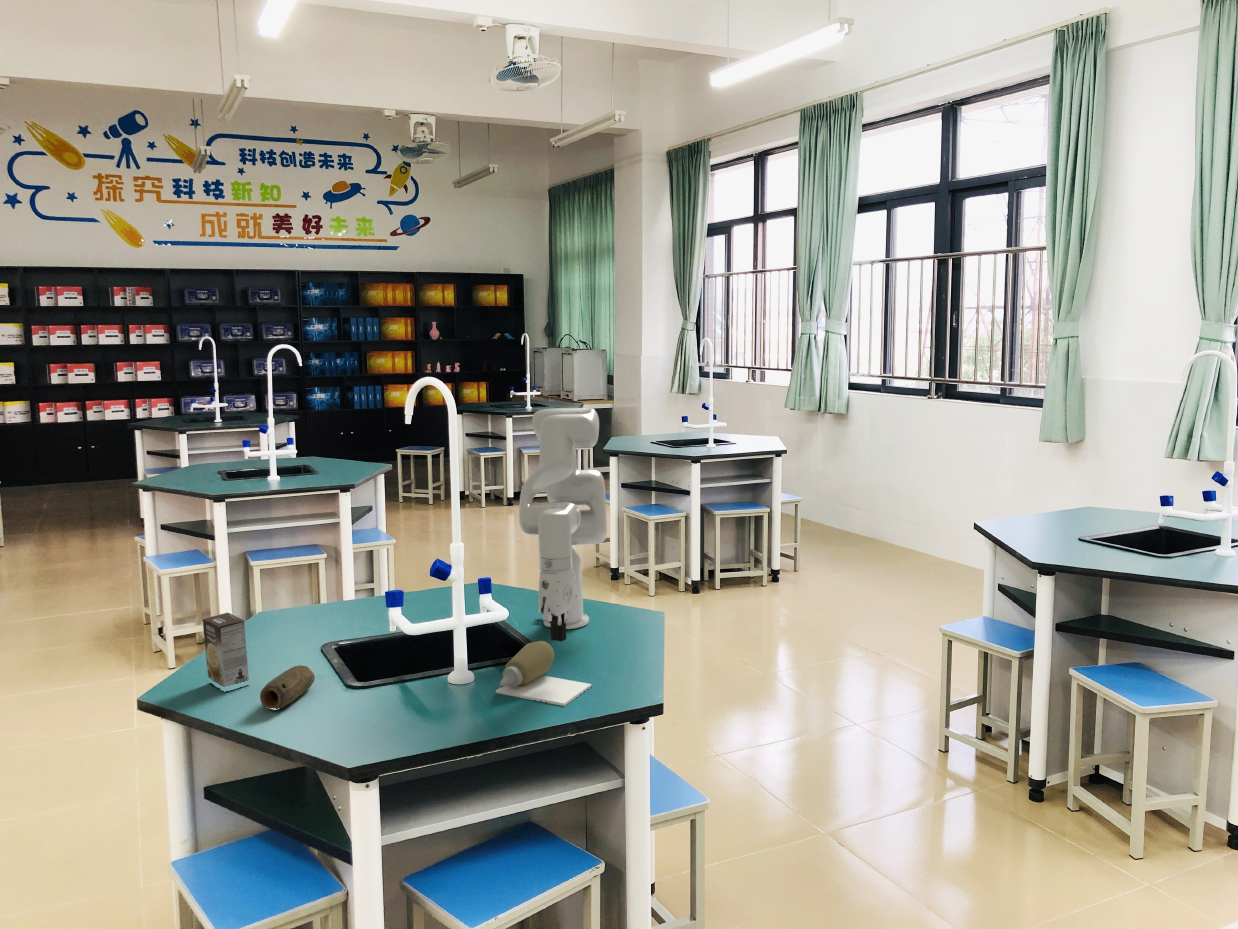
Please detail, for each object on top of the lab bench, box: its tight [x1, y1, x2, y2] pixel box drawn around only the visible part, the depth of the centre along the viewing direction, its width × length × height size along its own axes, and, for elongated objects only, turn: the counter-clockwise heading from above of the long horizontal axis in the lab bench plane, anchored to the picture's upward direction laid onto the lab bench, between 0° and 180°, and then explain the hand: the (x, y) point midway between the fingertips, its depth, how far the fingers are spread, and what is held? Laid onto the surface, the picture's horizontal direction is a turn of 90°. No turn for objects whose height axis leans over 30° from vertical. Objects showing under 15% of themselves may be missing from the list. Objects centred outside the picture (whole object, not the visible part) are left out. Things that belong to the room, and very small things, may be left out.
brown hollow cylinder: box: [259, 664, 316, 709], centre depth 212 cm, size 15×7×7 cm, turn 175°
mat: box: [495, 674, 593, 707], centre depth 214 cm, size 18×12×1 cm, turn 62°
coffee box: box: [202, 612, 250, 687], centre depth 222 cm, size 9×6×16 cm
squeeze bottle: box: [498, 640, 555, 688], centre depth 217 cm, size 8×8×18 cm
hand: (558, 639), depth 219 cm, fingers closed
